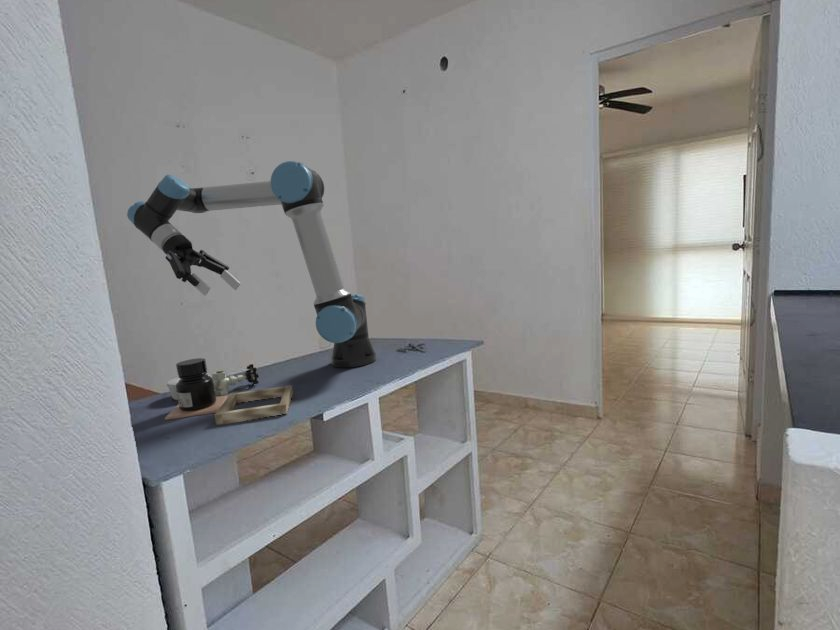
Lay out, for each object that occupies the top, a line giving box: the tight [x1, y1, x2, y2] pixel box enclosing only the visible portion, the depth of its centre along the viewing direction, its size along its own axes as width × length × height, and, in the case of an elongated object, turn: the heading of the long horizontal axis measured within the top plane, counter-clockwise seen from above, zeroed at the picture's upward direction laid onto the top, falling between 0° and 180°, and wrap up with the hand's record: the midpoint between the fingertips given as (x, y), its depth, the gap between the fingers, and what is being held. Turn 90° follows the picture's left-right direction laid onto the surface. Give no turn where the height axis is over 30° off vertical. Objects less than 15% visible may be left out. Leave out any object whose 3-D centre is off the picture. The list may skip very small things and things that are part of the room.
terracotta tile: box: [164, 394, 229, 421], centre depth 115 cm, size 12×12×1 cm
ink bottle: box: [175, 357, 217, 411], centre depth 114 cm, size 10×9×12 cm
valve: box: [211, 363, 260, 397], centre depth 128 cm, size 7×7×12 cm
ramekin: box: [166, 373, 211, 401], centre depth 126 cm, size 11×11×5 cm
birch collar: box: [214, 384, 294, 426], centre depth 110 cm, size 16×16×2 cm
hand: (223, 289), depth 129 cm, fingers open, 13 cm apart
